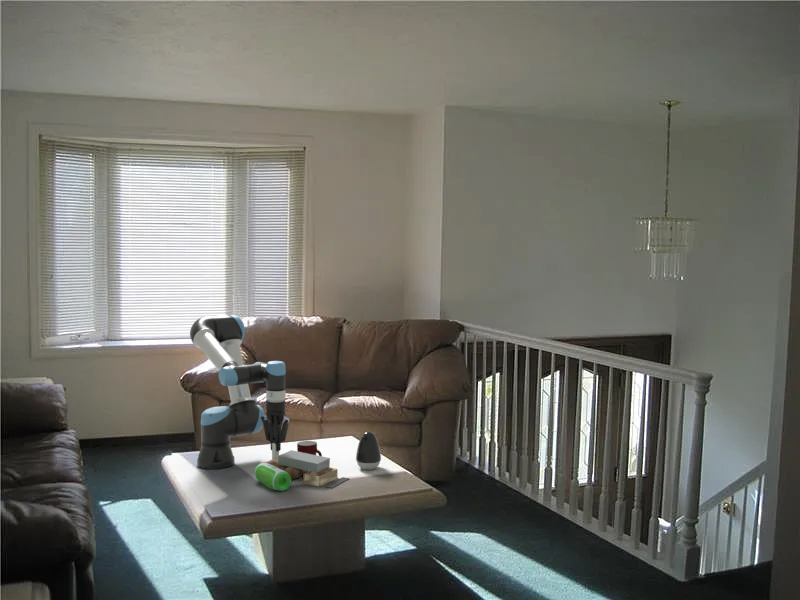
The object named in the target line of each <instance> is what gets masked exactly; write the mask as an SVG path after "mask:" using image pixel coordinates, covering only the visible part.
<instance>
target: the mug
mask: <svg viewBox="0 0 800 600" xmlns="http://www.w3.org/2000/svg"><path fill="white" fill-rule="evenodd" d="M296 445H297V446H296V447H297V450H296V451H298V452H302V453H307V454H312V455H317V454H318V456H322V457H323V455H322V454H323V453H322V452H321V451H320V450H319V449H318V443H317V441H313V440H302V441H299V442H297V443H296Z"/></svg>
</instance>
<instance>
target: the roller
mask: <svg viewBox="0 0 800 600" xmlns="http://www.w3.org/2000/svg"><path fill="white" fill-rule="evenodd" d="M330 467H331V466H330ZM330 467H328V468H326V469H324V470H322V471H320V472H318V473H316V472H310V473H309V474H308V475H314V476H321V475H323V474H325V473H327V472H329V471H331V469H330Z"/></svg>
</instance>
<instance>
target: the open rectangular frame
mask: <svg viewBox="0 0 800 600" xmlns="http://www.w3.org/2000/svg"><path fill="white" fill-rule="evenodd" d="M330 469H331V471H329V472H327V473H325V474H323V475H321V476H314V475H308V474H309V473H310V472H311V471H308V472H307V473H305V474H303V476H302V477H303V480H302V481H303V484H305V485H308V486H315V487H316V486H317V487H322V486H324V485H326V484H328V483H330V482H333V481H334V480H336V479H337V478H338V468H335V467H331V466H330Z"/></svg>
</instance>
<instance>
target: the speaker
mask: <svg viewBox="0 0 800 600" xmlns="http://www.w3.org/2000/svg"><path fill="white" fill-rule="evenodd" d="M253 474H254V477H255V478H256V480H258V481H259V482H260V483H261V484H263V485H264V486H265V487H268V488H269V489H272V490H275V491H279V492H283V491H286V490H287V489H289V488H290V486H291V483H292V480H291V477H290V475H289V474H288V473H287V472H285V471H283V470H281V469H279V468H277V467H275V466H273V465H271V464H268V463H265V462H261V463H259V464H257V465H256V466H255V468H254V471H253Z"/></svg>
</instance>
